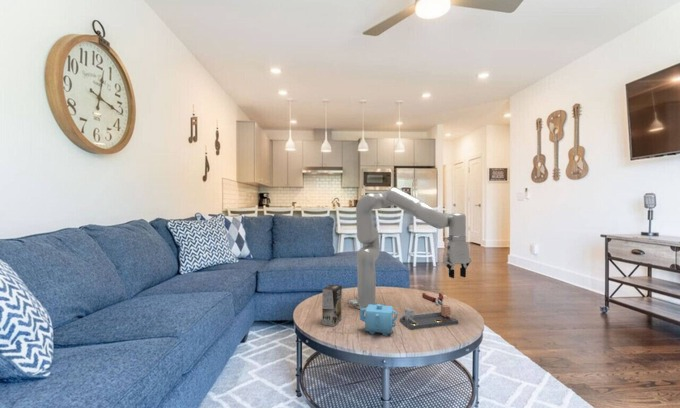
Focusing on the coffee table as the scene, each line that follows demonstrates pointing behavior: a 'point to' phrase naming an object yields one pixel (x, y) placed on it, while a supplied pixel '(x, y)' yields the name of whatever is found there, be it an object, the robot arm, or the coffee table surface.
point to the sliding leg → (445, 311)
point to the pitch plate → (425, 320)
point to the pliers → (438, 300)
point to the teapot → (378, 318)
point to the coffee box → (332, 305)
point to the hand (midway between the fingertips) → (457, 276)
